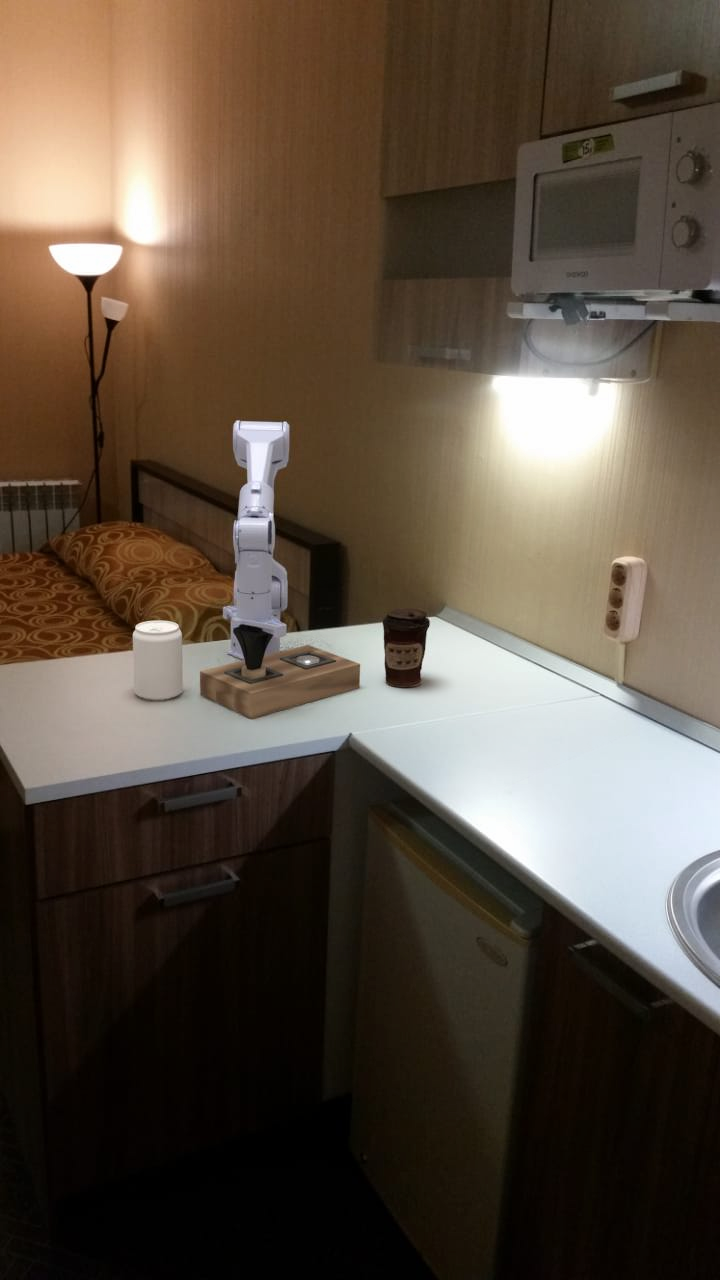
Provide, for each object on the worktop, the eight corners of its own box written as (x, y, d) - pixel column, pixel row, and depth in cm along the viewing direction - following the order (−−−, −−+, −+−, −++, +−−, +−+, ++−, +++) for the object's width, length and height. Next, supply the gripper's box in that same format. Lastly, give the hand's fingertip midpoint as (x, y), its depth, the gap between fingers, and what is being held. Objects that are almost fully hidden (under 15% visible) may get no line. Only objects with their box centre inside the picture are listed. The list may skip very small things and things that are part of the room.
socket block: (200, 695, 185) (199, 669, 183) (307, 667, 201) (307, 643, 199) (251, 719, 175) (251, 691, 174) (359, 687, 191) (360, 662, 190)
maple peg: (237, 692, 184) (237, 667, 182) (255, 687, 186) (255, 662, 185) (251, 699, 181) (251, 673, 180) (270, 694, 184) (270, 668, 182)
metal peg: (291, 682, 192) (291, 658, 190) (308, 678, 194) (309, 654, 193) (306, 688, 189) (306, 664, 188) (323, 683, 192) (324, 659, 190)
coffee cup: (427, 692, 190) (431, 620, 186) (380, 690, 190) (382, 618, 186) (425, 675, 198) (429, 607, 195) (380, 674, 198) (383, 605, 195)
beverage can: (188, 687, 188) (187, 621, 185) (175, 703, 181) (174, 634, 177) (142, 684, 189) (140, 618, 185) (128, 700, 181) (126, 631, 178)
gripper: (207, 584, 181) (208, 662, 185) (262, 603, 171) (262, 684, 175) (241, 578, 185) (241, 654, 189) (296, 596, 175) (295, 675, 179)
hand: (253, 668), depth 182 cm, fingers closed, pressing on maple peg
